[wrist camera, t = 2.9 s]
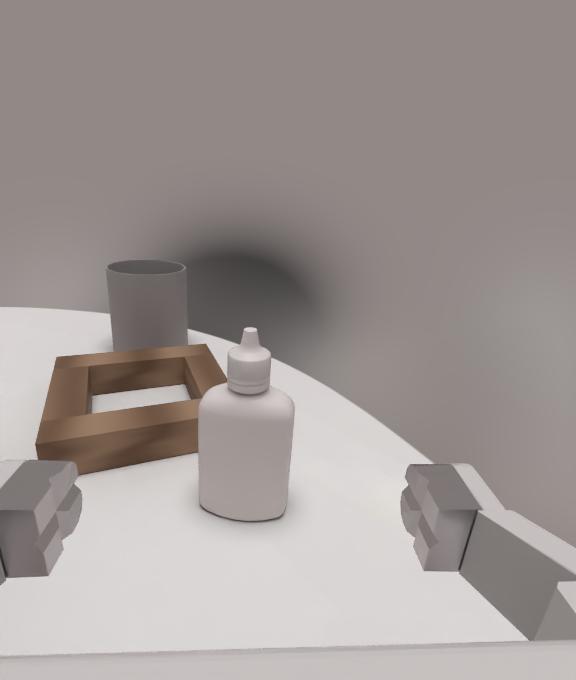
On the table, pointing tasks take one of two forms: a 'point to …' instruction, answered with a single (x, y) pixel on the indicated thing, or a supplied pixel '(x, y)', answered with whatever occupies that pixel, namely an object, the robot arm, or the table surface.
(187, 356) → the socket block
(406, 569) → the table surface
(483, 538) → the robot arm
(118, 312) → the cup
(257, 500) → the eye dropper bottle
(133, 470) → the table surface
